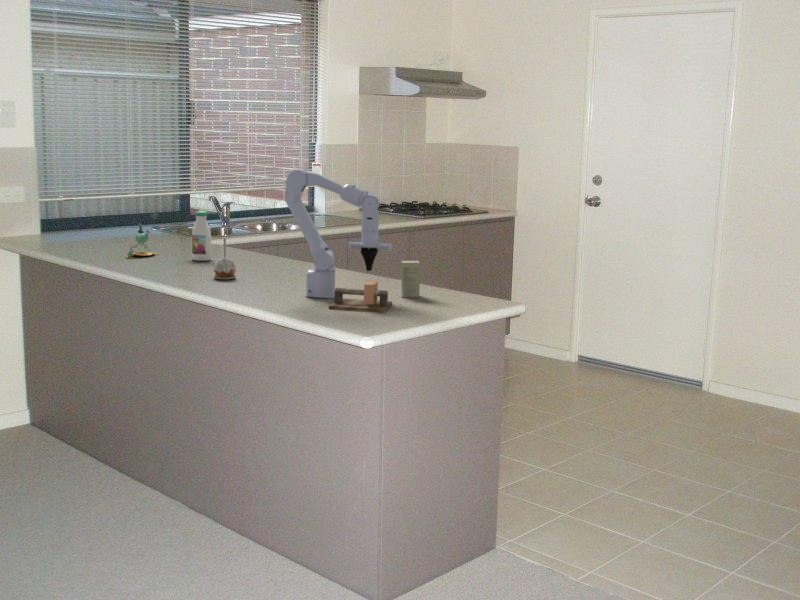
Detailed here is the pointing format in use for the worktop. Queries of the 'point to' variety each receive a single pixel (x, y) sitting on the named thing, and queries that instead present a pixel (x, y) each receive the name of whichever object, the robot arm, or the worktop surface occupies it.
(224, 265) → the decorative ornament
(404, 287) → the skincare box
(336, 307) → the pipe rig
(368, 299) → the collar
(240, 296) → the worktop surface
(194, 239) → the milk bottle
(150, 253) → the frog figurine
